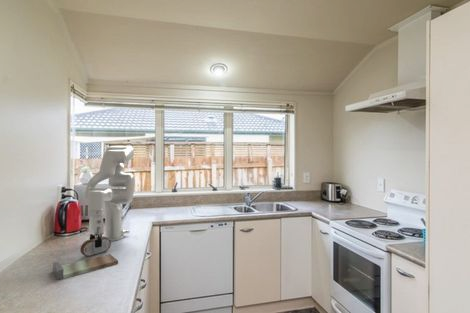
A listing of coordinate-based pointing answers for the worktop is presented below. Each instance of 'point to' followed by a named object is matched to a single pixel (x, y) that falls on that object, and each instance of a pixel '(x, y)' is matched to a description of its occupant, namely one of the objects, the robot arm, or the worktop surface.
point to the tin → (90, 249)
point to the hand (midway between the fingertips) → (95, 245)
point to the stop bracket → (58, 270)
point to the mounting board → (88, 265)
